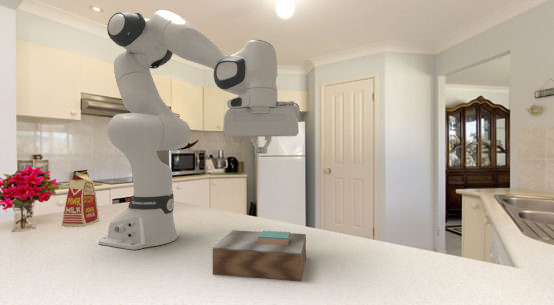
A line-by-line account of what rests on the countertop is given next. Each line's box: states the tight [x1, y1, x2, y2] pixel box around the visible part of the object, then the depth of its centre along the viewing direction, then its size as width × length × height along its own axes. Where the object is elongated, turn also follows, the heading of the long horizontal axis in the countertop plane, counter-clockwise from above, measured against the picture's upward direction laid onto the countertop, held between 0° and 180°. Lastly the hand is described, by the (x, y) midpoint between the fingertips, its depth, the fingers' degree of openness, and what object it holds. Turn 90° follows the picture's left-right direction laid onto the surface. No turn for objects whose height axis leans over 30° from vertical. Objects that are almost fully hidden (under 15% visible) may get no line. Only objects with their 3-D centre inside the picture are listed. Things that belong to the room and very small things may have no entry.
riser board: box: [212, 229, 307, 282], centre depth 69 cm, size 20×14×6 cm
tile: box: [258, 230, 291, 245], centre depth 68 cm, size 7×5×2 cm
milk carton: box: [61, 171, 100, 227], centre depth 109 cm, size 9×9×20 cm
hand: (261, 153), depth 76 cm, fingers closed
